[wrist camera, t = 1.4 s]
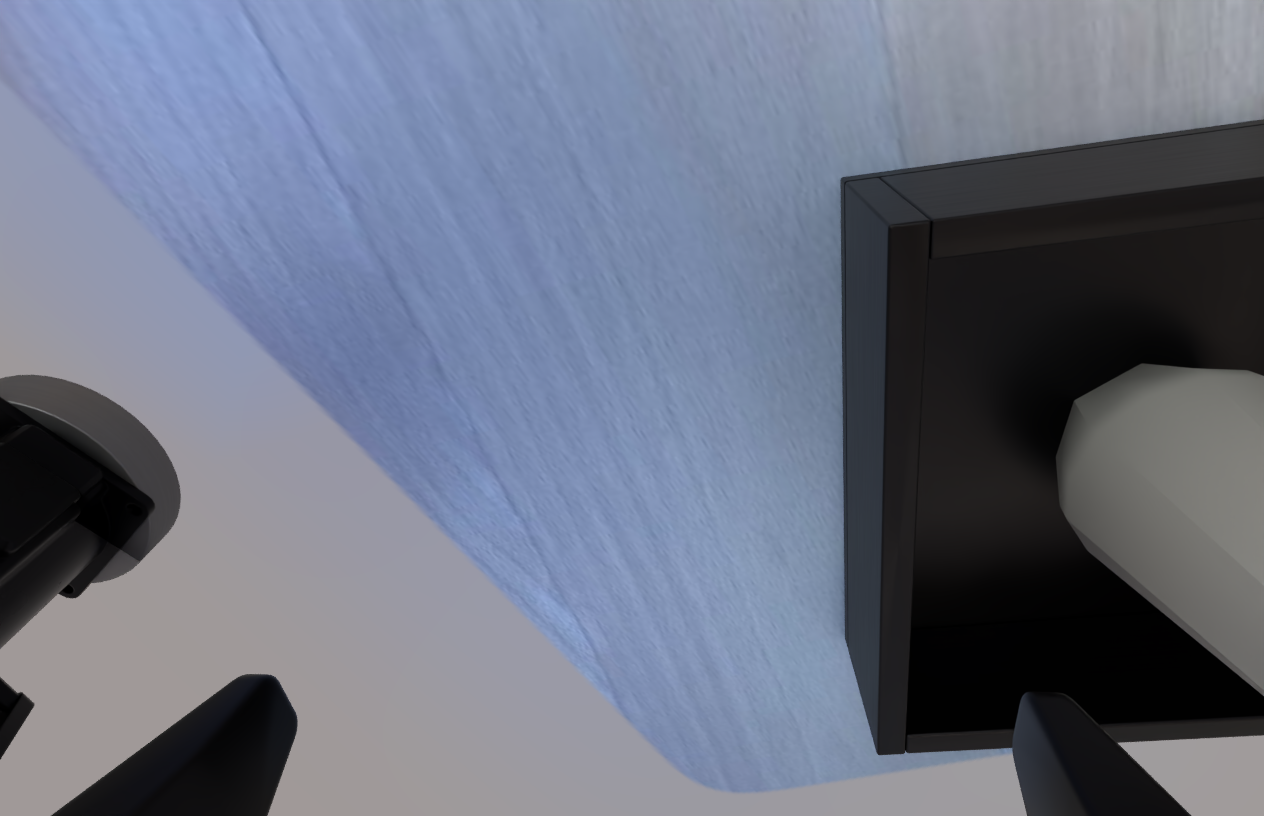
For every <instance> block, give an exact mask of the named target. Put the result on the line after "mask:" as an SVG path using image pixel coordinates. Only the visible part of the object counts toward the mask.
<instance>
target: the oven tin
mask: <svg viewBox="0 0 1264 816" xmlns="http://www.w3.org/2000/svg"><path fill="white" fill-rule="evenodd" d="M841 260H842V362H843V463H844V565H845V640H846V643H847V647H848V650H849V654H850V658H851V661H852V665H853V669H854V672H855V676H856V679H857V683H858V687H859V690H860V694H861V697H862V701H863V705H864V708H865V712H866V716H867V719H868V723H869V726H870V730H871V734H872V737H873V741H874V745H875V748H876V752H877V754H878V755H891V754H904V753H905V751H906V752H907V753H921V752H941V751H961V750H981V749H1001V748H1012V740H1013V734H1014V729H1015V725H1016V720H1017V715H1018V710H1019V706H1020V701H1021V698H1022V696H1023V695H1024V694H1025V693H1026V692H1059V693H1063V694H1065V695H1067V696H1069V697H1070V698H1072V699H1073V700H1074V701H1075V702H1076V703H1077V704H1078V705H1079V706H1080V707H1081V708H1082V709H1083V710H1084V711H1085V712H1086V713H1087V714H1088V715H1089V716H1090V717H1091V718H1092V719H1093V720H1094V721H1095V722H1096V723H1097V724H1098V725H1099V726H1100V727H1101V728H1102V729H1103V730H1104V731H1105V732H1106V733H1107V734H1109V735H1110V736H1111V737H1112V738H1113V739H1114V740H1115V741H1116V742H1117V743H1119V742H1137V741H1138V742H1139V741H1159V740H1179V739H1198V738H1216V737H1217V738H1218V737H1236V736H1237V737H1238V736H1257V735H1264V696H1263V695H1262V694H1261V693H1259V692H1258V691H1257V690H1256V689H1255V688H1253V687H1252V686H1251V685H1250V684H1249V683H1247V682H1246V681H1245V680H1244V679H1242V678H1241V677H1240V676H1239V675H1238V674H1236V673H1235V672H1234V671H1233V670H1232V669H1230V668H1229V667H1228V666H1227V665H1225V664H1224V663H1223V662H1222V661H1221V660H1219V659H1218V658H1217V657H1216V656H1215V655H1213V654H1212V653H1211V652H1210V651H1208V650H1207V649H1206V648H1205V647H1204V646H1202V645H1201V644H1200V643H1199V642H1198V641H1196V640H1195V639H1194V638H1193V637H1192V636H1190V635H1189V634H1188V633H1187V632H1185V631H1184V630H1183V629H1182V628H1181V627H1179V626H1178V625H1177V624H1176V623H1175V622H1173V621H1172V620H1171V619H1170V618H1168V617H1167V616H1166V615H1165V614H1164V613H1162V612H1161V611H1160V610H1159V609H1158V608H1156V607H1155V606H1154V605H1153V604H1152V603H1150V602H1149V601H1148V600H1147V599H1145V598H1144V597H1143V596H1142V595H1141V594H1139V593H1138V592H1137V591H1136V590H1135V589H1133V588H1132V587H1131V586H1130V585H1128V584H1127V583H1126V582H1125V581H1124V580H1122V579H1121V578H1120V577H1119V576H1118V575H1116V574H1115V573H1114V572H1113V571H1112V570H1110V569H1109V568H1108V567H1107V566H1105V565H1104V564H1103V563H1102V562H1101V561H1099V560H1098V559H1097V558H1096V557H1095V556H1093V555H1092V554H1091V553H1090V552H1088V551H1087V549H1086V548H1085V546H1084V545H1083V543H1082V542H1081V540H1080V539H1079V537H1078V536H1077V534H1076V533H1075V531H1074V530H1073V528H1072V527H1071V525H1070V524H1069V522H1068V521H1067V519H1066V517H1065V515H1064V513H1063V511H1062V509H1061V507H1060V503H1059V491H1058V479H1057V466H1056V454H1057V451H1058V448H1059V445H1060V442H1061V439H1062V436H1063V433H1064V430H1065V427H1066V424H1067V421H1068V417H1069V414H1070V411H1071V408H1072V405H1073V402H1074V400H1076V399H1078V398H1079V397H1081V396H1083V395H1085V394H1087V393H1089V392H1090V391H1092V390H1094V389H1096V388H1098V387H1099V386H1101V385H1103V384H1105V383H1107V382H1109V381H1110V380H1112V379H1114V378H1116V377H1118V376H1120V375H1121V374H1123V373H1125V372H1127V371H1129V370H1131V369H1132V368H1134V367H1136V366H1138V365H1140V364H1141V363H1143V364H1153V365H1163V366H1174V367H1184V368H1199V369H1228V370H1248V371H1251V372H1254V373H1257V374H1259V375H1262V376H1264V120H1257V121H1250V122H1243V123H1236V124H1228V125H1221V126H1214V127H1206V128H1199V129H1192V130H1185V131H1177V132H1170V133H1163V134H1156V135H1148V136H1141V137H1134V138H1127V139H1119V140H1112V141H1105V142H1097V143H1090V144H1083V145H1076V146H1068V147H1061V148H1054V149H1047V150H1039V151H1032V152H1025V153H1017V154H1010V155H1003V156H996V157H988V158H981V159H974V160H967V161H959V162H952V163H945V164H937V165H930V166H923V167H916V168H908V169H901V170H894V171H887V172H879V173H872V174H865V175H858V176H850V177H843V178H841Z"/></svg>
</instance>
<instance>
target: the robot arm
mask: <svg viewBox="0 0 1264 816" xmlns="http://www.w3.org/2000/svg"><path fill="white" fill-rule="evenodd" d="M136 505H137V506H138V507H137V506H136ZM154 510H155V503H154V501H153V500H152V498H150V497H149V496H148V495H147V494H145V493H144V492H142V491H141V490H139V489H138V488H136V487H135V486H133V485H132V484H130V483H129V482H127V481H126V480H124V479H123V478H121V477H120V476H118V475H117V474H115V473H114V472H112V471H111V470H109V469H108V468H106V467H105V466H103V465H102V464H100V463H99V462H97V461H96V460H94V459H93V458H91V457H90V456H88V455H87V454H85V453H84V452H82V451H81V450H79V449H78V448H76V447H75V446H73V445H72V444H70V443H69V442H67V441H66V440H64V439H63V438H61V437H60V436H58V435H57V434H55V433H54V432H52V431H51V430H49V429H48V428H46V427H45V426H43V425H42V424H40V423H39V422H37V421H36V420H34V419H33V418H31V417H30V416H28V415H27V414H25V413H24V412H22V411H21V410H19V409H18V408H16V407H15V406H13V405H12V404H10V403H9V402H7V401H6V400H4V399H3V398H1V397H0V649H1V647H3V646H4V645H5V644H6V643H7V642H8V641H9V640H10V639H11V638H12V637H13V636H14V635H15V634H16V633H17V632H18V631H19V630H21V628H22V627H24V626H25V625H26V624H27V623H28V622H29V621H30V620H31V619H32V618H33V617H34V616H35V615H36V614H37V613H38V612H39V611H40V610H41V609H42V608H44V607H45V605H47V604H48V603H49V602H50V601H51V600H52V599H53V598H54V597H55V596H56V595H57V594H60V595H62V596H65V597H67V598H76V597H78V596H79V595H81V594H82V593H83V592H84V591H85V590H86V589H87V587H88V586H89V585H90V584H91V583H92V582H93V581H94V579H95V578H96V577H97V576H98V575H99V574H100V573H101V571H102V570H103V569H104V568H105V567H106V566H107V564H108V563H109V562H110V561H111V560H112V559H113V558H114V556H115V555H116V554H117V553H118V552H119V551H120V550H121V548H122V547H123V546H124V545H125V544H126V543H127V542H128V540H129V539H130V538H131V537H132V536H133V535H134V534H135V532H136V531H137V530H138V529H139V528H140V527H141V526H142V524H143V523H144V522H145V521H146V520H147V519H148V517H149V516H150V515H151V514H152V513H153V512H154ZM33 707H34V703H33V702H32V701H31V700H30V699H29V698H27V697H26V695H24V694H23V693H22V692H20V693H17V692H16V691H14V689H12V688H11V687H10V686H9V685H8V684H7V683H6V682H5V681H4V680H3V679H2V678H0V759H1V757H2V756H3V754H4V753H5V751H6V750H7V748H8V746H9V745H10V743H11V742H12V740H13V739H14V737H15V735H16V734H17V732H18V730H19V729H20V727H21V726H22V724H23V723H24V721H25V719H26V718H27V716H28V715H29V713H30V711H31V710H32V708H33ZM296 732H297V715H296V712H295V711H294V709H293V707H292V705H291V703H290V701H289V700H288V697H287V696H286V694H285V692H284V690H283V688H282V686H281V684H280V682H279V681H278V680H277V679H276V677H274V676H272V675H265V674H246V675H242V676H240V677H238V678H236V679H235V680H233V681H232V682H230V683H229V684H228V685H226V686H225V687H224V688H222V689H221V690H220V691H218V692H217V693H216V694H214V695H213V696H212V697H210V698H209V699H207V700H206V701H205V702H203V703H202V704H201V705H199V706H198V707H197V708H196V709H194V710H193V711H191V712H190V713H189V714H187V715H186V716H185V717H183V718H182V719H181V720H179V721H178V722H177V723H175V724H174V725H172V726H171V727H170V728H168V729H167V730H166V731H164V732H163V733H162V734H160V735H159V736H158V737H157V738H155V739H154V740H152V741H151V742H150V743H148V744H147V745H146V746H144V747H143V748H141V749H140V750H139V751H138V752H136V753H135V754H134V755H132V756H131V757H129V758H128V759H127V760H125V761H124V762H123V763H122V764H120V765H119V766H117V767H116V768H115V769H113V770H112V771H111V772H109V773H108V774H107V775H105V776H104V777H102V778H101V779H100V780H98V781H97V782H96V783H94V784H93V785H92V786H90V787H89V788H88V789H86V790H85V791H84V792H82V793H81V794H80V795H78V796H77V797H76V798H74V799H73V800H71V801H70V802H69V803H67V804H66V805H65V806H63V807H62V808H61V809H60V810H58V811H57V812H55V813H54V814H53V815H52V816H267V815H268V812H269V809H270V806H271V804H272V801H273V798H274V795H275V792H276V790H277V787H278V784H279V781H280V778H281V776H282V772H283V770H284V767H285V764H286V761H287V758H288V756H289V753H290V750H291V747H292V744H293V742H294V739H295V735H296ZM1012 749H1013V757H1014V763H1015V767H1016V771H1017V775H1018V779H1019V783H1020V787H1021V792H1022V796H1023V800H1024V804H1025V808H1026V812H1027V816H1191V815H1190V814H1189V813H1188V812H1187V811H1186V810H1185V809H1184V808H1183V807H1182V806H1181V805H1180V804H1179V803H1178V802H1177V801H1176V800H1175V799H1174V798H1173V797H1172V796H1171V795H1170V794H1169V793H1168V792H1167V791H1166V790H1165V789H1164V788H1163V787H1162V786H1161V785H1160V784H1158V783H1157V782H1156V781H1155V780H1154V779H1153V778H1152V777H1151V776H1150V775H1149V774H1148V773H1147V772H1146V771H1145V770H1144V769H1143V768H1142V767H1141V766H1140V765H1139V764H1138V763H1137V762H1136V761H1135V760H1134V759H1133V758H1132V757H1131V756H1130V755H1128V753H1127V752H1126V751H1125V750H1124V749H1123V748H1122V747H1121V746H1120V745H1119V744H1118V743H1117V742H1116V741H1115V740H1114V739H1113V738H1112V737H1111V736H1110V735H1109V734H1107V733H1106V732H1105V731H1104V730H1103V729H1102V728H1101V727H1100V726H1099V725H1098V724H1097V723H1096V722H1095V721H1094V720H1093V719H1092V718H1091V717H1090V716H1089V715H1088V714H1087V713H1086V712H1085V711H1084V710H1083V709H1082V708H1081V707H1080V706H1079V705H1078V704H1077V703H1076V702H1075V701H1074V700H1073V699H1072V698H1070V697H1069V696H1067V695H1065V694H1063V693H1059V692H1026V693H1025V694H1024V695H1023V696H1022V698H1021V701H1020V706H1019V710H1018V715H1017V720H1016V725H1015V729H1014V734H1013V740H1012Z"/></svg>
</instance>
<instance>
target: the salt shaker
mask: <svg viewBox="0 0 1264 816" xmlns="http://www.w3.org/2000/svg"><path fill="white" fill-rule="evenodd" d="M1056 466H1057V479H1058V491H1059V503H1060V507H1061V509H1062V511H1063V513H1064V515H1065V517H1066V519H1067V521H1068V522H1069V524H1070V525H1071V527H1072V528H1073V530H1074V531H1075V533H1076V534H1077V536H1078V537H1079V539H1080V540H1081V542H1082V543H1083V545H1084V546H1085V548H1086V549H1087V551H1088V552H1090V553H1091V554H1092V555H1093V556H1095V557H1096V558H1097V559H1098V560H1099V561H1101V562H1102V563H1103V564H1104V565H1105V566H1107V567H1108V568H1109V569H1110V570H1112V571H1113V572H1114V573H1115V574H1116V575H1118V576H1119V577H1120V578H1121V579H1122V580H1124V581H1125V582H1126V583H1127V584H1128V585H1130V586H1131V587H1132V588H1133V589H1135V590H1136V591H1137V592H1138V593H1139V594H1141V595H1142V596H1143V597H1144V598H1145V599H1147V600H1148V601H1149V602H1150V603H1152V604H1153V605H1154V606H1155V607H1156V608H1158V609H1159V610H1160V611H1161V612H1162V613H1164V614H1165V615H1166V616H1167V617H1168V618H1170V619H1171V620H1172V621H1173V622H1175V623H1176V624H1177V625H1178V626H1179V627H1181V628H1182V629H1183V630H1184V631H1185V632H1187V633H1188V634H1189V635H1190V636H1192V637H1193V638H1194V639H1195V640H1196V641H1198V642H1199V643H1200V644H1201V645H1202V646H1204V647H1205V648H1206V649H1207V650H1208V651H1210V652H1211V653H1212V654H1213V655H1215V656H1216V657H1217V658H1218V659H1219V660H1221V661H1222V662H1223V663H1224V664H1225V665H1227V666H1228V667H1229V668H1230V669H1232V670H1233V671H1234V672H1235V673H1236V674H1238V675H1239V676H1240V677H1241V678H1242V679H1244V680H1245V681H1246V682H1247V683H1249V684H1250V685H1251V686H1252V687H1253V688H1255V689H1256V690H1257V691H1258V692H1259V693H1261V694H1262V695H1263V696H1264V376H1262V375H1259V374H1257V373H1254V372H1251V371H1248V370H1228V369H1199V368H1184V367H1174V366H1163V365H1153V364H1143V363H1141V364H1140V365H1138V366H1136V367H1134V368H1132V369H1131V370H1129V371H1127V372H1125V373H1123V374H1121V375H1120V376H1118V377H1116V378H1114V379H1112V380H1110V381H1109V382H1107V383H1105V384H1103V385H1101V386H1099V387H1098V388H1096V389H1094V390H1092V391H1090V392H1089V393H1087V394H1085V395H1083V396H1081V397H1079V398H1078V399H1076V400H1074V402H1073V405H1072V408H1071V411H1070V414H1069V417H1068V421H1067V424H1066V427H1065V430H1064V433H1063V436H1062V439H1061V442H1060V445H1059V448H1058V451H1057V454H1056Z"/></svg>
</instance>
